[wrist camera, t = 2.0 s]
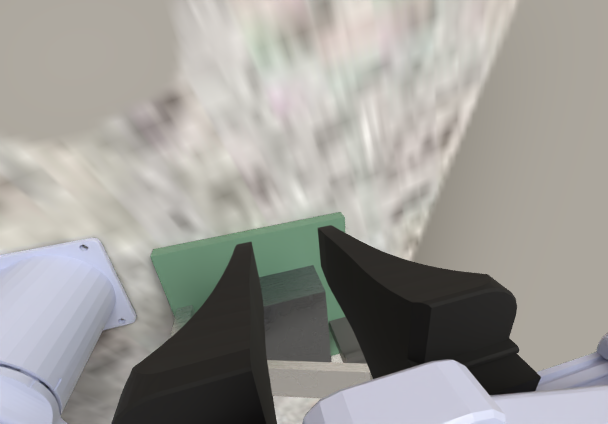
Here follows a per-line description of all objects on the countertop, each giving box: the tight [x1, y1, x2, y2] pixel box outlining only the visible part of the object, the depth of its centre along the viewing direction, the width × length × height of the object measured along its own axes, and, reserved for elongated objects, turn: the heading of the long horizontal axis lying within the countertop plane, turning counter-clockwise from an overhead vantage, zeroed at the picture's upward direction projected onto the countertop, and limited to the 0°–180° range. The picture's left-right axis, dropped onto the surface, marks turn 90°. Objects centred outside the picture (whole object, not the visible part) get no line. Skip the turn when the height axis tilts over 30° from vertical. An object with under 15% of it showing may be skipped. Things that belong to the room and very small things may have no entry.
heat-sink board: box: [150, 212, 367, 364], centre depth 24 cm, size 15×16×6 cm
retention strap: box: [267, 360, 370, 398], centre depth 20 cm, size 14×3×1 cm, turn 96°
